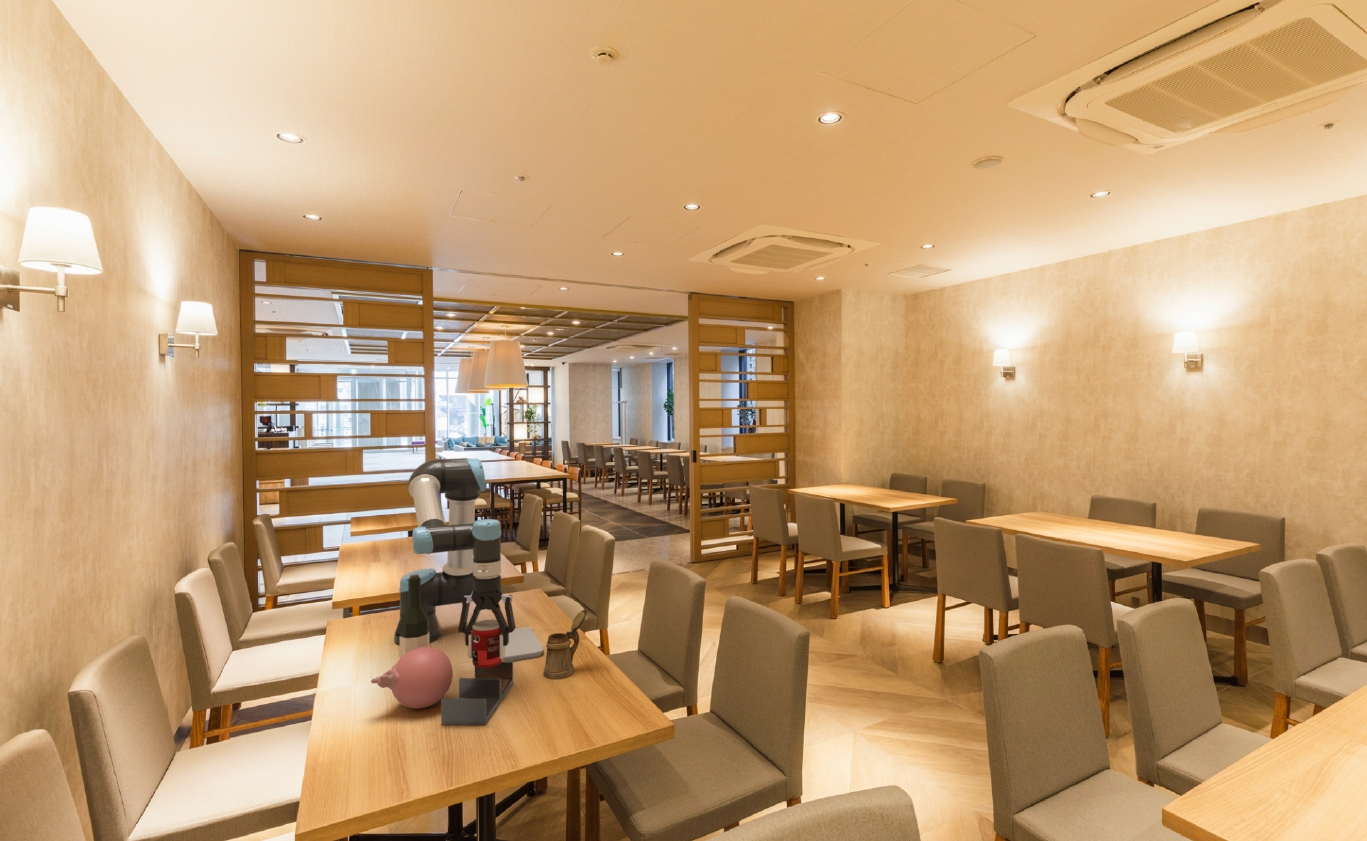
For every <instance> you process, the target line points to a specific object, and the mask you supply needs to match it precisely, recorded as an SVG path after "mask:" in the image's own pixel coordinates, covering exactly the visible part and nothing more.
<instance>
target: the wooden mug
mask: <svg viewBox="0 0 1367 841" xmlns="http://www.w3.org/2000/svg"><path fill="white" fill-rule="evenodd" d="M587 611H588V610H587V608H586V609H582V610H580V611H579V612H577V614H576V615H575V617H574V619H573V621H572V623H571V629H570V630H568V631H566V632H565V633H563V632H557V633H556V632H555V633H552V634H549V635H548V637H547V641H546V644H545V647H546V655H545V664H544V668H543V672H542V674H543V676H544V677H545V678H548V679H551V680H553V679H554V680H558V679H559V680H560V679H564V678H567V677H569V676H571V675H573V674H574V671H575V667H574V663H573V659H574V655H575V653H576V652H577V649H578V647H579V644H580V634H579V632H578V630H579V629H580V628H581V627H582V626H583V624H584V622H585V621H586V618H587V614H588V613H587ZM571 640H573V643H572V641H571ZM571 643H572V646H571Z"/></svg>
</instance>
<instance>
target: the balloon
mask: <svg viewBox="0 0 1367 841" xmlns="http://www.w3.org/2000/svg"><path fill="white" fill-rule="evenodd" d="M453 676H454V670H453V665H452V662H451V660H450V658H449V656H447V654H446V653H445V652H444V651H442V650H441V649H440V648H437V647H432V646H429V647H419V648H415V649H413V650H411V651H409V652H407V653H406V654H405V655H403V656H402V657H401V658H400V657H399V659H398V660H397V662H396V663H395V664H393V666H392V667H391V669H389V670H387V671H386V672H384V673H383V674H382V675H380V676H376V677H375V678H372V679H371V680H370V682H371V684H377V686H378V687H380V688H382V689H384V688H388V689H390V690H391V692H392V695H393V696H394V698H395V700H396V701H397V702H398V703H400V704H401V706H402V705H403V706H404V707H406V708H409V709H425V708H429V707H431V706H433V705H435V704H436V703H437V702H439V701H440V700H441V699H442V698H444V696H445V695H446V693H448V691H449V689H450V687H451V684H452V681H453Z"/></svg>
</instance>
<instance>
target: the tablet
mask: <svg viewBox="0 0 1367 841" xmlns="http://www.w3.org/2000/svg"><path fill="white" fill-rule="evenodd" d="M544 650H545V649H544V646H543V644H542V642H541V641H540V639H539V638H538V636H537V635H536V633H535V631H534V630H533V628H532V627H528V626H527V627H525V626H524V627H517V628H515V630H514V631H513V632H510V633H509V643H508V645H507V646H505V656H504V657H503V661H513V662H514V661H515V662H516V661H522V660H527V659H533V658H538V657H541V656H542V653H543V652H544Z"/></svg>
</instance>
